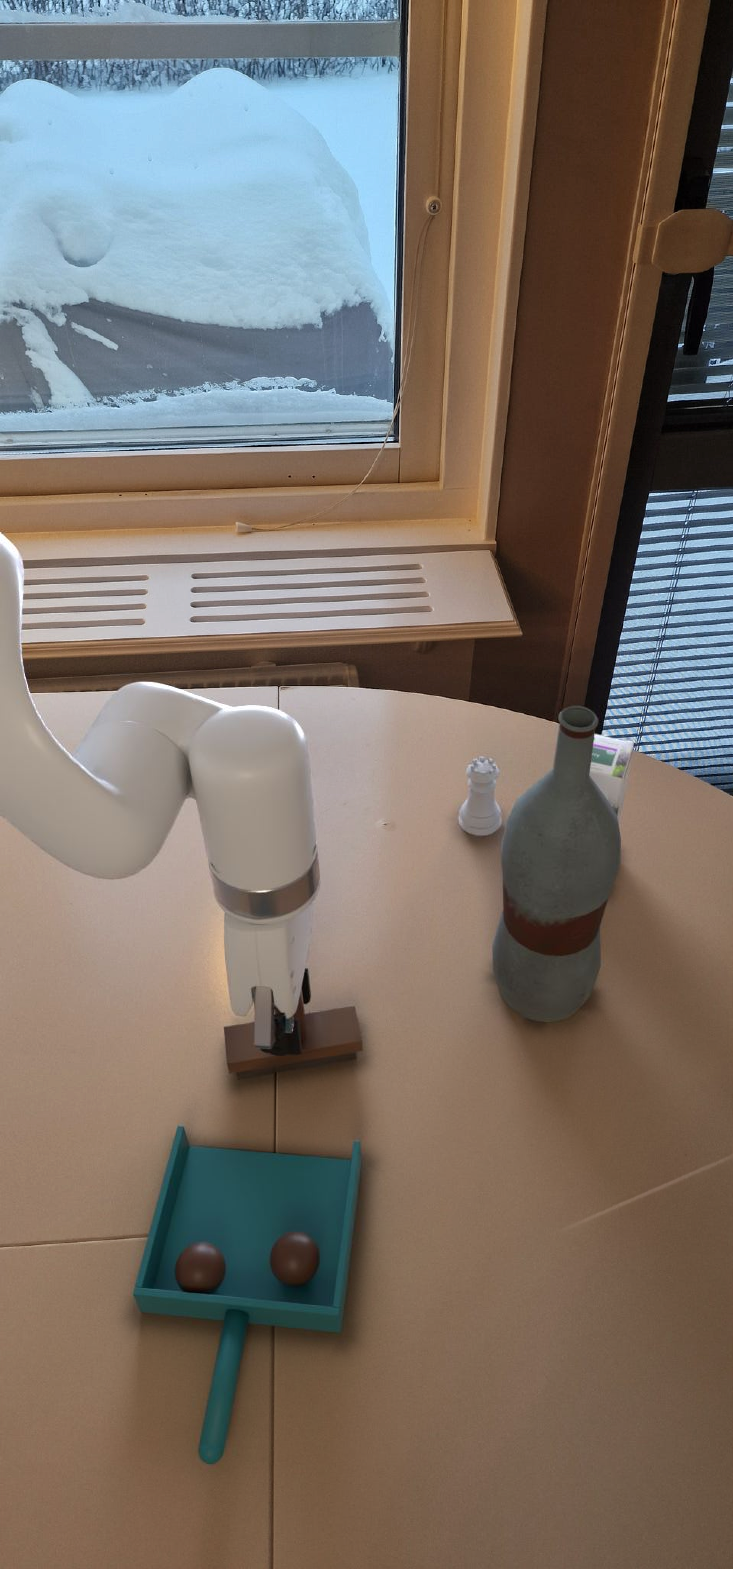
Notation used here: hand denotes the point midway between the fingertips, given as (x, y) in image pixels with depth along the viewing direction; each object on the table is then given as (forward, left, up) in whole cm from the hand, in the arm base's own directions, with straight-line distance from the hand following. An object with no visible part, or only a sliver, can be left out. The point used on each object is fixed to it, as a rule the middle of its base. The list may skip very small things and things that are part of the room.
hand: (286, 1023), depth 84 cm
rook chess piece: (+15, +29, -5) cm, 33 cm away
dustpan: (0, -20, -4) cm, 20 cm away
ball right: (+3, -18, -3) cm, 18 cm away
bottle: (+21, +9, -5) cm, 23 cm away
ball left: (-3, -19, -3) cm, 19 cm away
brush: (0, 0, -4) cm, 4 cm away
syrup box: (+25, +24, -5) cm, 35 cm away
